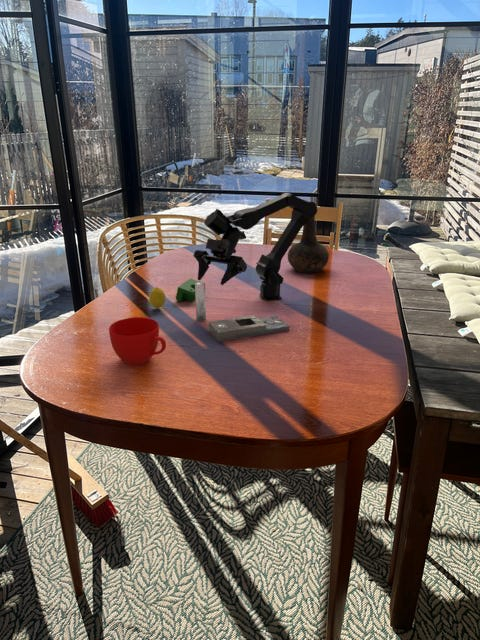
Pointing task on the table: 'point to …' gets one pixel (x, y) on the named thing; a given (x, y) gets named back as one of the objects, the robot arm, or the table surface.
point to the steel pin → (200, 301)
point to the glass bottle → (308, 251)
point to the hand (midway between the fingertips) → (209, 282)
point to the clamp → (186, 290)
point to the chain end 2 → (272, 326)
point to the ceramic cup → (135, 339)
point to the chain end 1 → (234, 327)
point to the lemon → (157, 297)
